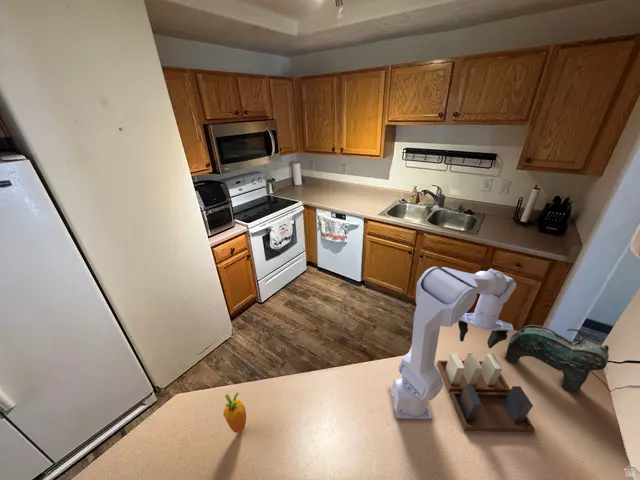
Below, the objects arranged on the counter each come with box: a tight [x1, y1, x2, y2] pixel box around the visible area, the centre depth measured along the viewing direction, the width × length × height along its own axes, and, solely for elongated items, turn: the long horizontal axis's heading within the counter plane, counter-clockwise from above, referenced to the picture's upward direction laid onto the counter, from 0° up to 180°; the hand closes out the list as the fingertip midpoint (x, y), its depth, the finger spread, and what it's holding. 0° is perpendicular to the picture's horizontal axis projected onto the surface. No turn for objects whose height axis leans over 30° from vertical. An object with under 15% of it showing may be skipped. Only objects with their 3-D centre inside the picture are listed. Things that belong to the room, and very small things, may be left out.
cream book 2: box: [463, 352, 483, 385], centre depth 77 cm, size 2×5×8 cm, turn 178°
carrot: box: [223, 392, 247, 434], centre depth 65 cm, size 5×5×15 cm
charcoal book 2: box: [503, 385, 534, 423], centre depth 68 cm, size 2×5×8 cm, turn 178°
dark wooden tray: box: [449, 392, 536, 434], centre depth 70 cm, size 17×9×2 cm, turn 88°
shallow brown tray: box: [436, 359, 511, 393], centre depth 79 cm, size 17×9×2 cm, turn 88°
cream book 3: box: [481, 352, 504, 386], centre depth 77 cm, size 2×5×8 cm, turn 178°
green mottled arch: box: [504, 324, 610, 394], centre depth 75 cm, size 20×6×20 cm, turn 49°
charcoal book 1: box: [458, 385, 482, 422], centre depth 69 cm, size 2×5×8 cm, turn 178°
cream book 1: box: [445, 352, 465, 385], centre depth 78 cm, size 2×5×8 cm, turn 178°
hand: (474, 342), depth 79 cm, fingers open, 7 cm apart
